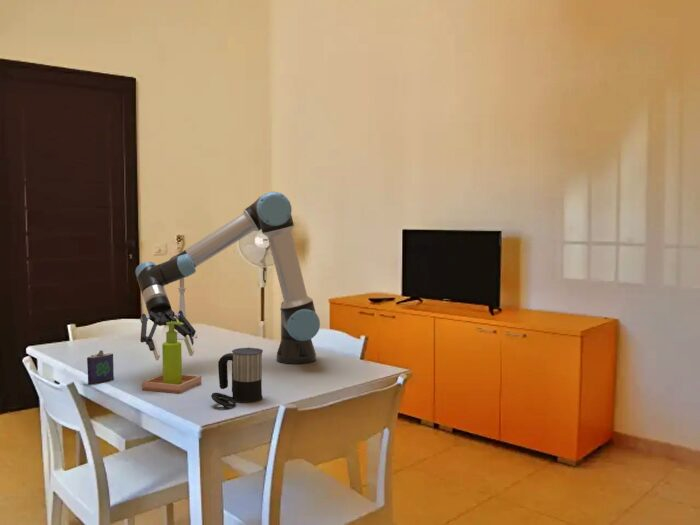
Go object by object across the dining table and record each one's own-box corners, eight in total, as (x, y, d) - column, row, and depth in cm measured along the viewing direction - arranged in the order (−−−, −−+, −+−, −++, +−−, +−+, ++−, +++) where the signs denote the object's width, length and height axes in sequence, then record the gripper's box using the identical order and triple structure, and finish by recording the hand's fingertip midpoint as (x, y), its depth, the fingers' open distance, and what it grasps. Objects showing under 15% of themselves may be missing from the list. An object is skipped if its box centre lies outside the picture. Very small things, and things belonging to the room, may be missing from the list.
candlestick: (167, 336, 299) (166, 271, 297) (196, 334, 303) (195, 270, 301) (168, 341, 287) (167, 273, 285) (198, 339, 290) (197, 273, 288)
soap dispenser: (179, 386, 205) (178, 323, 204) (159, 385, 207) (158, 323, 205) (188, 381, 211) (187, 320, 210) (168, 380, 212) (167, 320, 211)
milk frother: (264, 394, 200) (264, 347, 199) (259, 409, 184) (258, 358, 183) (218, 395, 199) (217, 347, 198) (208, 410, 184) (208, 358, 183)
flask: (111, 378, 219) (110, 347, 219) (116, 379, 218) (115, 348, 217) (86, 384, 212) (85, 351, 211) (91, 385, 210) (90, 352, 209)
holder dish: (201, 383, 212) (201, 376, 212) (179, 393, 200) (179, 385, 200) (165, 380, 217) (165, 373, 216) (142, 389, 205) (142, 382, 204)
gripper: (186, 306, 226) (205, 358, 215) (119, 311, 212) (136, 367, 201) (192, 292, 222) (212, 344, 210) (124, 297, 208) (142, 353, 196)
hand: (175, 355), depth 205 cm, fingers open, 10 cm apart
